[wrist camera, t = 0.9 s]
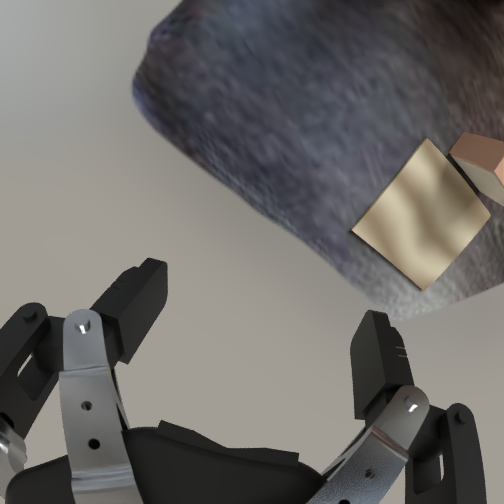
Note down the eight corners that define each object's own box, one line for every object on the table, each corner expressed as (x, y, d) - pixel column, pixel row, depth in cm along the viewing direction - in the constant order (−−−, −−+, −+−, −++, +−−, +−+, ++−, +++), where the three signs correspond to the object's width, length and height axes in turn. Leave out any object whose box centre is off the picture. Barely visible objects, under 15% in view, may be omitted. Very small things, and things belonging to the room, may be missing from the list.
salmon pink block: (463, 131, 28) (511, 144, 18) (494, 172, 29) (540, 195, 19) (447, 153, 30) (493, 172, 20) (479, 192, 31) (523, 221, 21)
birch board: (425, 137, 29) (426, 137, 29) (489, 214, 31) (490, 215, 31) (351, 228, 37) (351, 230, 36) (422, 289, 39) (423, 291, 38)
